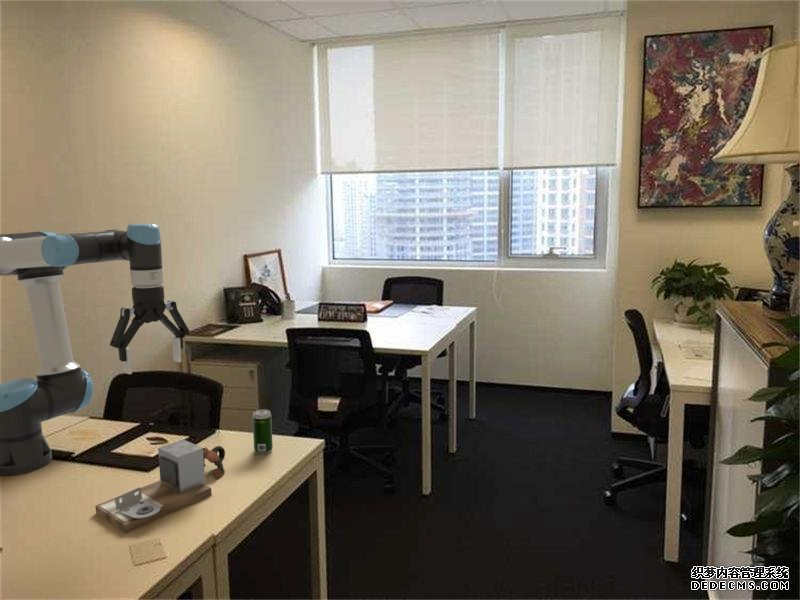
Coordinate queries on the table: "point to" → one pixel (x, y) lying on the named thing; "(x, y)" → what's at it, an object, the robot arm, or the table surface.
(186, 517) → the table surface
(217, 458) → the pottery mug
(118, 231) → the robot arm
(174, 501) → the brown wooden flat board
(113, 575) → the table surface
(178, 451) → the grey box
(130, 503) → the bracket
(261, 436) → the beer can
